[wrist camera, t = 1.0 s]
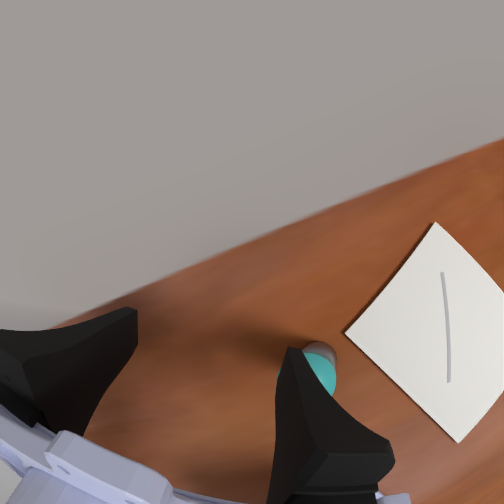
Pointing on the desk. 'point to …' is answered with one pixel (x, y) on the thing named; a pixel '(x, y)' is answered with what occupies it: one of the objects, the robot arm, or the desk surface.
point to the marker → (322, 363)
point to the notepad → (439, 333)
